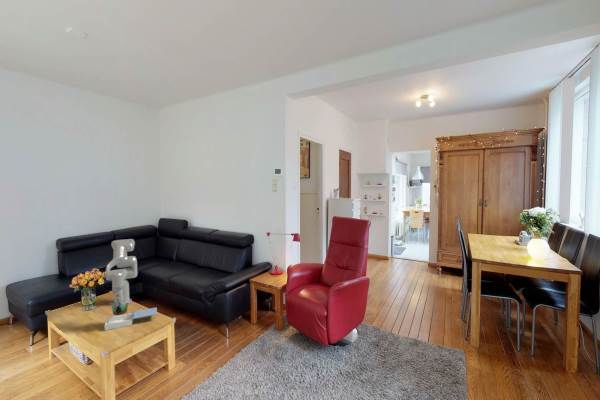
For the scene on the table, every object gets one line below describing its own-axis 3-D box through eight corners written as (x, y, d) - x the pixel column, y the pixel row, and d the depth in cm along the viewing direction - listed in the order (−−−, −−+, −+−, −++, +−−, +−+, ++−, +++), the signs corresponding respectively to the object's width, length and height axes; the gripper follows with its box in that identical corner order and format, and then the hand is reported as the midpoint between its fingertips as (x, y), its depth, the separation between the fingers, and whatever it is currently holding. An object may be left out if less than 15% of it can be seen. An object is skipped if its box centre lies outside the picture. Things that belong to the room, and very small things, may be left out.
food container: (108, 316, 207) (107, 304, 207) (111, 313, 213) (110, 300, 212) (126, 314, 211) (126, 302, 210) (129, 311, 217) (128, 298, 216)
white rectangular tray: (107, 323, 215) (107, 317, 215) (133, 318, 223) (133, 312, 222) (104, 330, 204) (104, 325, 204) (132, 325, 212) (131, 319, 211)
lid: (132, 312, 222) (132, 309, 222) (156, 308, 230) (156, 305, 230) (131, 319, 211) (131, 316, 211) (156, 314, 219) (156, 311, 219)
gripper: (122, 291, 205) (123, 314, 207) (125, 283, 221) (126, 305, 222) (110, 293, 202) (111, 316, 203) (114, 285, 217) (115, 307, 218)
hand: (119, 310), depth 212 cm, fingers closed on food container, 5 cm apart
